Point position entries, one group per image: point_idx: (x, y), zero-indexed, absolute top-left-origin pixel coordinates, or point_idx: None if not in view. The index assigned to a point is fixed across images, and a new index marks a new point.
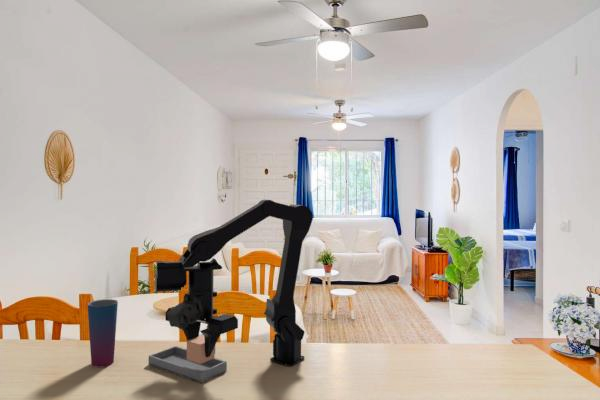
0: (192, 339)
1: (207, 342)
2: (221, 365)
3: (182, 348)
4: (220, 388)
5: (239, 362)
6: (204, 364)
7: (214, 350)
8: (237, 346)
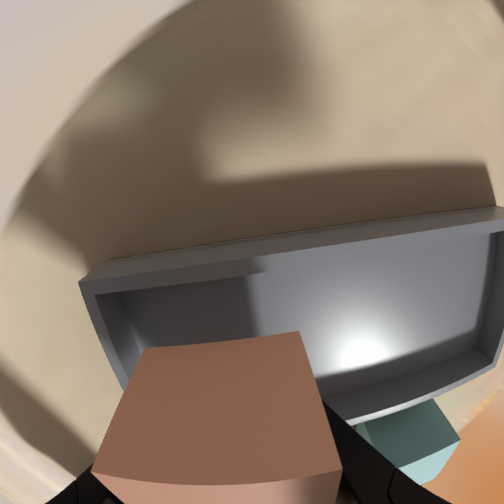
0: (314, 501)
1: (63, 495)
2: None
3: (461, 382)
4: (25, 289)
5: None
6: None
7: None
8: None
